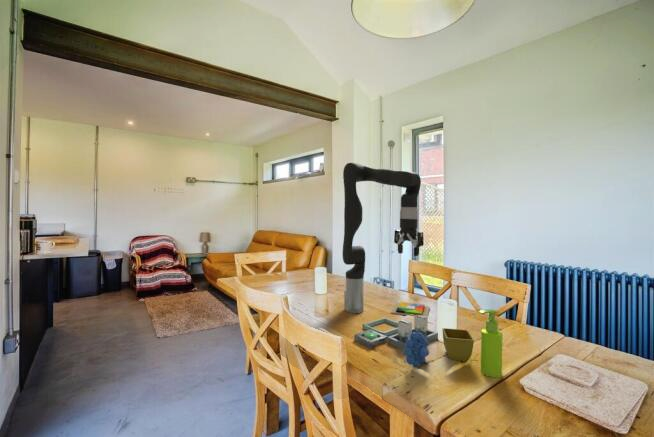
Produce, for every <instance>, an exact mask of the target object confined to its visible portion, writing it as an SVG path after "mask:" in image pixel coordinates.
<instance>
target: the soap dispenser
mask: <svg viewBox="0 0 654 437" xmlns="http://www.w3.org/2000/svg"><path fill="white" fill-rule="evenodd" d="M478 313H480V314H481V315H485V314H488V318H487V319H485V328H482V329H481V331H480V332H481V336H480V342H481V343H480V372H481V373H482V374H483V375H485V376H487V375H488V376H487V377H489V376H490V378H495V377H496V378H501V377H502V376H503V375H502V374H503V372H502V370H503V332H501V331H500V330H499V322H498V320H496V314H499V311H497V310H496V309H490V308H489V309H488V308H487V309H485V308H484V309H481V310H478Z"/></svg>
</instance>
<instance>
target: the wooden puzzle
mask: <svg viewBox="0 0 654 437" xmlns="http://www.w3.org/2000/svg"><path fill="white" fill-rule="evenodd" d="M430 308H431V307H430V306H428V305H426V304H424V303H423V304H422V303H416V302H406V301H400V302H397V301H396V303H395V304H394V306H393V307H392V309H391V312H390V314H391V315H399V316H402V317H408V316H411V317H415V316H417V315H421V316H426V317H427V318H428V315H429V313H430V312H429V311H430Z"/></svg>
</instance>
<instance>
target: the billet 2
mask: <svg viewBox="0 0 654 437" xmlns="http://www.w3.org/2000/svg"><path fill="white" fill-rule="evenodd" d="M413 318H414V327H413V328H414V332H416V333H419V332H421V333H423V334H424V337H425V336H427V335H428V328H429V324H428V322H429V321H428V316H427V317H426V316H421V315H417V316H413Z"/></svg>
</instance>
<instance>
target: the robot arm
mask: <svg viewBox="0 0 654 437" xmlns="http://www.w3.org/2000/svg"><path fill="white" fill-rule="evenodd" d="M342 172H343V173H342V176H343V177H342V179H343V191H344V210H343V211H344V212H343V213H344V215H343V217H344V218H343V219H344V224H343V225H344V226H343V228H344V229H343V231H344V233H343V242H342V244H343V245H342V260H343V263H344V264H345V265H349V266H350V265H353V267H352V268H351V269H348V270H346V272H345V291H344V292H343V293H344V295H343V298H344V299H343V300H344V301H343V302H344V305H343V306H344V308H343V309H344V310H345V311H346V312H347V313H350V314H360V313H363V312H364V302H365V301H364V297H365V296H364V289H365V288H364V287H365V286H364V285H365V283H364V282H365V280H364V279H365V278H364V277H365V270H366V250H365V248H364V247H363V246H361V245H355V246H354V245H353V242H354V238H355V235H356V233H357V232H358V230H359V228H360V227H361V225H362V222H363V210H364V209H363V205H362V202H361V200H360V197H359V195H358V191H357V183H359V182H375V183H378V184H381V185H388V186H395V187H400V188H402V189H403V188H404V189H405V192H404V193H403V194H402V195H400V196H401V198H400V212H399V229H395V230H394V235H393V236H394V240H393V243H394V244H396V245H397V252H398V254H403V251H404V243H405V242H406V241H407V242H410V243H411V244H412V245H413V256H414V257H418V256H420V247H423V246H424V243H425V242H424V232H423V231H418V230H417V229H418V224H419V223H418V219H419V216H418V215H419V214H418V213H419V212H418V211H419V210H418V197H419V193H420V189H421V185H422V184H421V182H422V179H421V176H420V174H418V173H417V172H413V171H408V170H407V171H406V170H397V169H388V168H373V167H368V166H366V165H363V164H360V163H357V162H356V163H355V162H347V163H346V164H345V165H344V167H343V170H342Z"/></svg>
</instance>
